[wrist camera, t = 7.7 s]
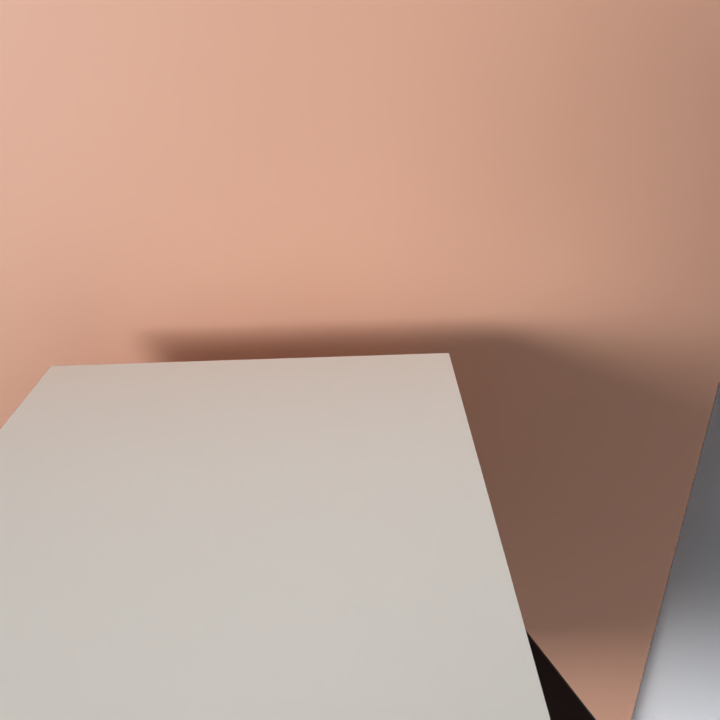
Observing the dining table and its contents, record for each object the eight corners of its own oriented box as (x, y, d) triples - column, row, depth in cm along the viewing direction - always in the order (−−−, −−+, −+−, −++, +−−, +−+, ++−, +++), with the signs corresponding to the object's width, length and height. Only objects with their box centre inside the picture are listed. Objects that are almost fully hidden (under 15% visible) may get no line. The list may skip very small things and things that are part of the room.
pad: (603, 733, 14) (617, 771, 13) (75, 749, 14) (60, 788, 13) (788, -59, 7) (836, -65, 7) (-223, -25, 7) (-283, -26, 7)
